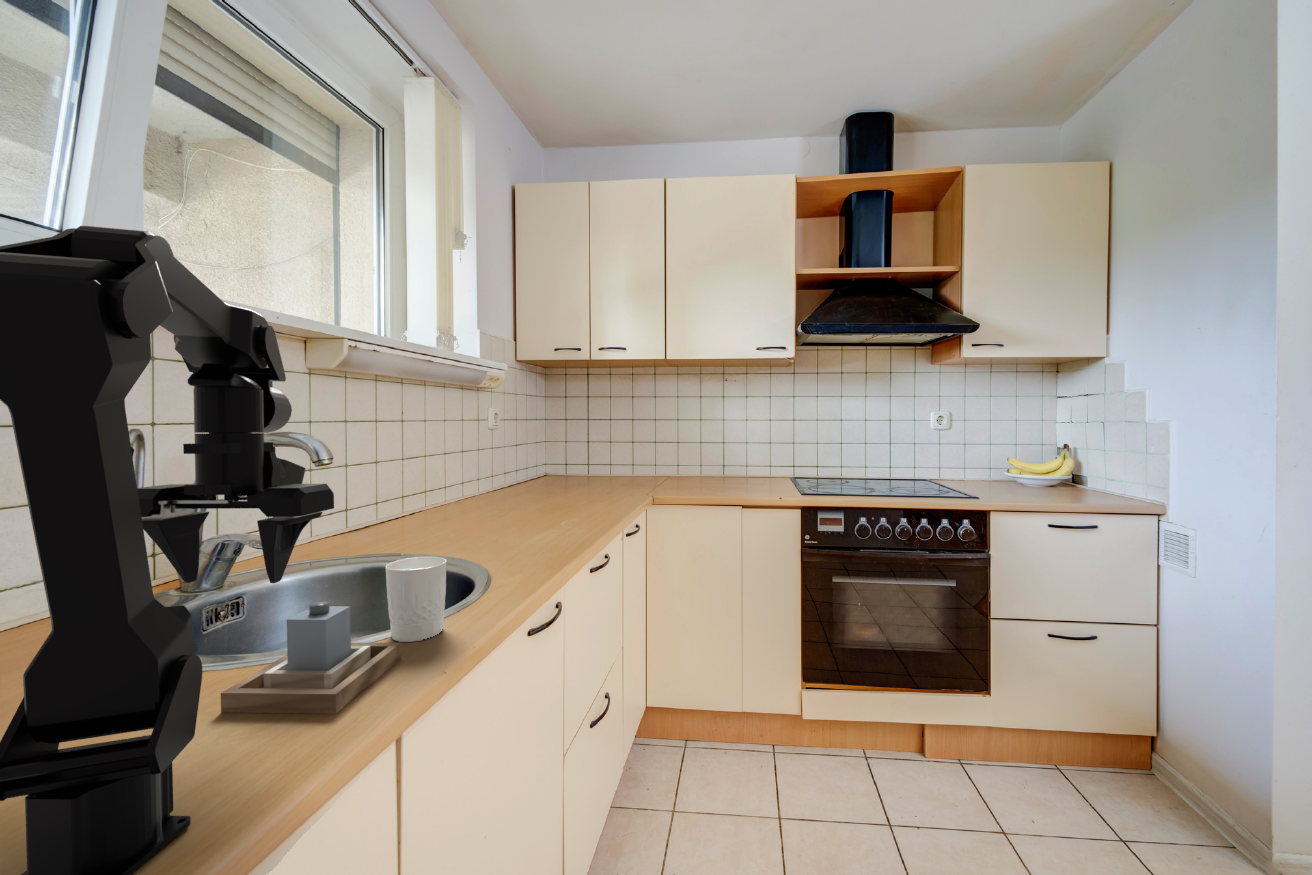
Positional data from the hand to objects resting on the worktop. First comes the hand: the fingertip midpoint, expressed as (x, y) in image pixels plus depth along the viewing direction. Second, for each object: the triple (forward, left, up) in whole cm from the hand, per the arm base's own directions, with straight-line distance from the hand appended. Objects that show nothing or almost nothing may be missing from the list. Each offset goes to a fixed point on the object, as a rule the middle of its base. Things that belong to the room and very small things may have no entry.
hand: (233, 582), depth 56 cm
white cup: (+20, -10, -13) cm, 26 cm away
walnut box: (+5, -6, -13) cm, 15 cm away
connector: (+6, -5, -12) cm, 15 cm away
